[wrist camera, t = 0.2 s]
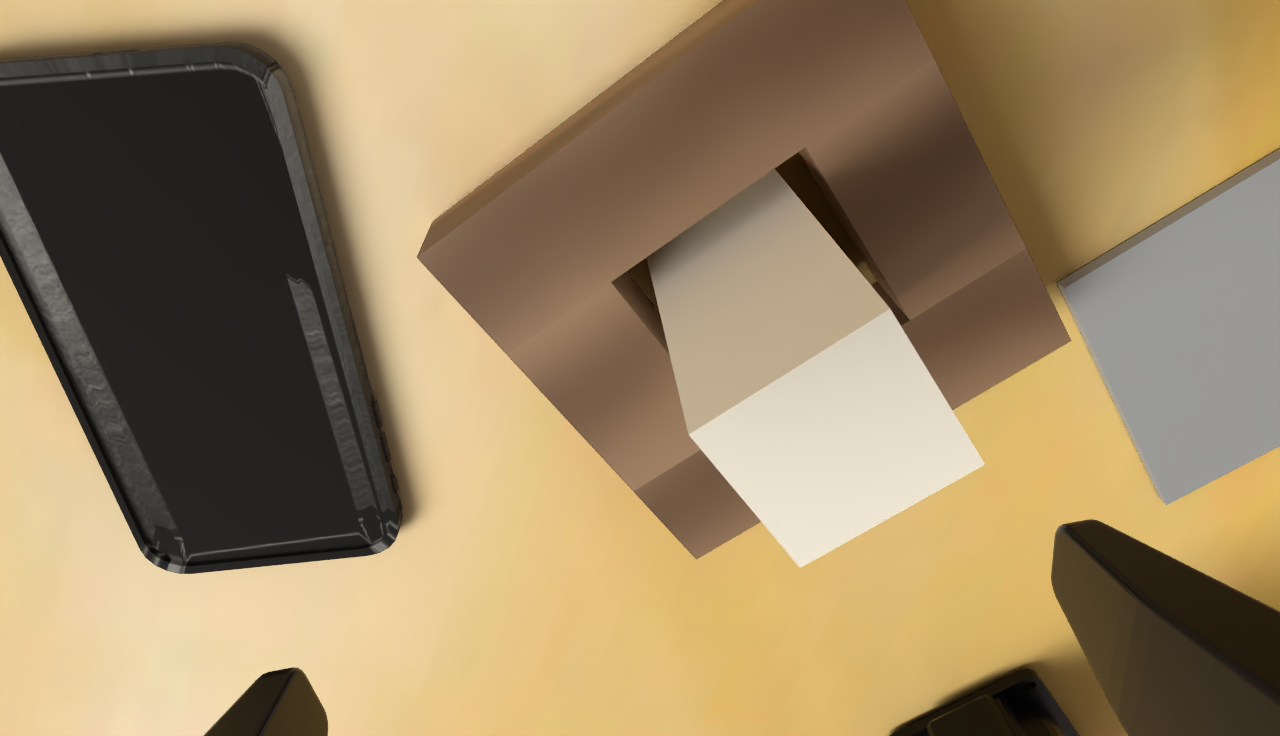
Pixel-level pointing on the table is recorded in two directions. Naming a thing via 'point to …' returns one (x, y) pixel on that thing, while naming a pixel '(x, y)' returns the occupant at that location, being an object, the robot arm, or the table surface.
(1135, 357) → the grey mat
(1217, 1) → the table surface
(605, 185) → the walnut square frame
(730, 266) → the cream block
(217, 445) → the phone
